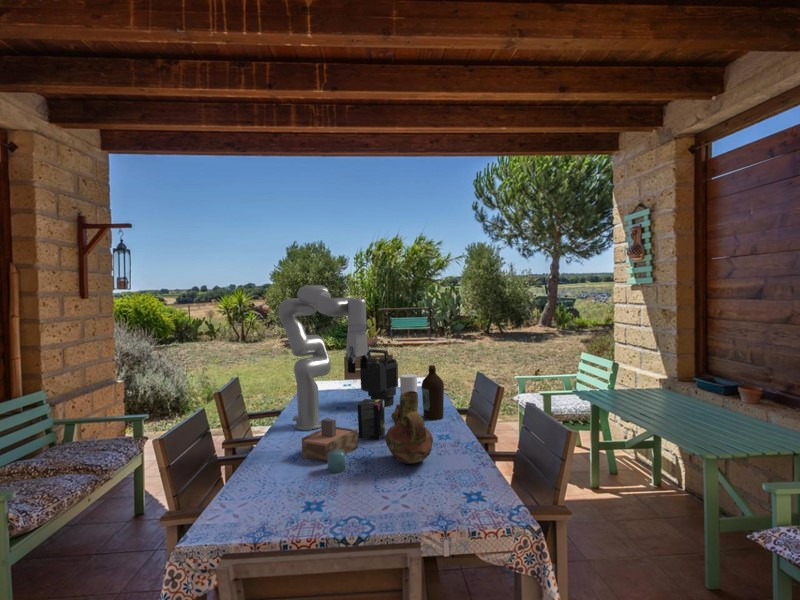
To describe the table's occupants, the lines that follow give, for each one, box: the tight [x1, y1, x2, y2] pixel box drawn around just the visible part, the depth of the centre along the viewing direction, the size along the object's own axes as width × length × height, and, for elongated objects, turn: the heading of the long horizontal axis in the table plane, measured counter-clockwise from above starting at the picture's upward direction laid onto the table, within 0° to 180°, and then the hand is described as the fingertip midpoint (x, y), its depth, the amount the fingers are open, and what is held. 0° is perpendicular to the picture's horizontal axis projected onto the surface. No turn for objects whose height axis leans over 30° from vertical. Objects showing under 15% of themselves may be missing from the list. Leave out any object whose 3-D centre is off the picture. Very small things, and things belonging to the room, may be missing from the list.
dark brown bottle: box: [421, 364, 445, 421], centre depth 222 cm, size 11×11×25 cm
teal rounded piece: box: [327, 449, 346, 474], centre depth 161 cm, size 6×6×6 cm
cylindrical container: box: [399, 373, 418, 394], centre depth 197 cm, size 7×7×25 cm
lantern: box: [359, 348, 399, 408], centre depth 249 cm, size 15×18×30 cm
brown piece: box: [304, 418, 351, 446], centre depth 177 cm, size 16×11×7 cm
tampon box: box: [357, 398, 386, 441], centre depth 197 cm, size 11×9×15 cm
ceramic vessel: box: [385, 391, 434, 464], centre depth 167 cm, size 17×26×25 cm, turn 23°
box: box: [301, 426, 359, 464], centre depth 178 cm, size 18×13×7 cm
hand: (358, 370), depth 189 cm, fingers open, 9 cm apart
